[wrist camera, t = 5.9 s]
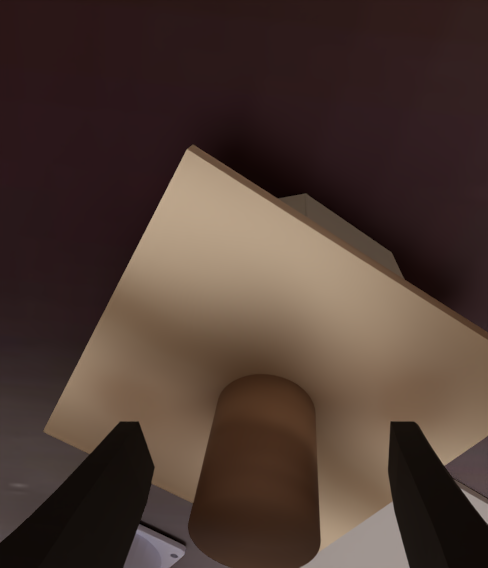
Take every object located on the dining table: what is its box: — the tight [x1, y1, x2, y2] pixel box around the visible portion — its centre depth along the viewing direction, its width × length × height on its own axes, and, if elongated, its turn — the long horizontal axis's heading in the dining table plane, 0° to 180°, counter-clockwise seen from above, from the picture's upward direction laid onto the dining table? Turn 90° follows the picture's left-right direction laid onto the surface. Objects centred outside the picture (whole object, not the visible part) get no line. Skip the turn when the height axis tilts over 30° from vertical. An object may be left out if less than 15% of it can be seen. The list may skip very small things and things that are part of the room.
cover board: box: [43, 145, 488, 568], centre depth 12 cm, size 12×12×5 cm
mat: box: [300, 480, 488, 568], centre depth 25 cm, size 14×14×1 cm
